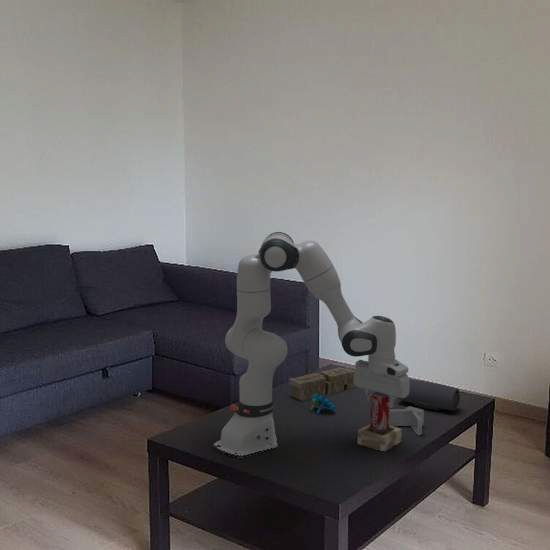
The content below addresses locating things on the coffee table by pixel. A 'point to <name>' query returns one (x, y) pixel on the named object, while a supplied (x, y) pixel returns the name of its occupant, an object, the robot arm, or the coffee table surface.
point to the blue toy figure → (322, 403)
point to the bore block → (379, 437)
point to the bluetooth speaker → (432, 395)
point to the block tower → (322, 383)
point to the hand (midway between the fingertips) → (380, 404)
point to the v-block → (407, 418)
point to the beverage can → (379, 411)
